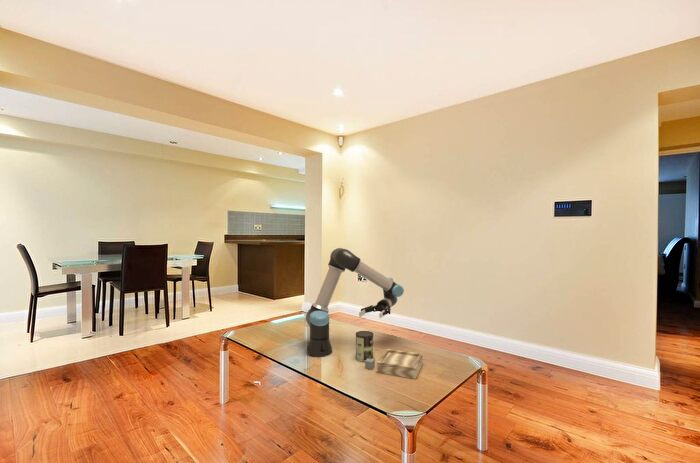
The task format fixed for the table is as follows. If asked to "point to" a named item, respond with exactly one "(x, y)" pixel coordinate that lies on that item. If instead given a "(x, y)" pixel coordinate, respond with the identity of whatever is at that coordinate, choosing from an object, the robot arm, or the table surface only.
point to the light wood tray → (400, 363)
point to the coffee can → (364, 345)
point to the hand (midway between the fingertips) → (369, 315)
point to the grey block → (369, 363)
